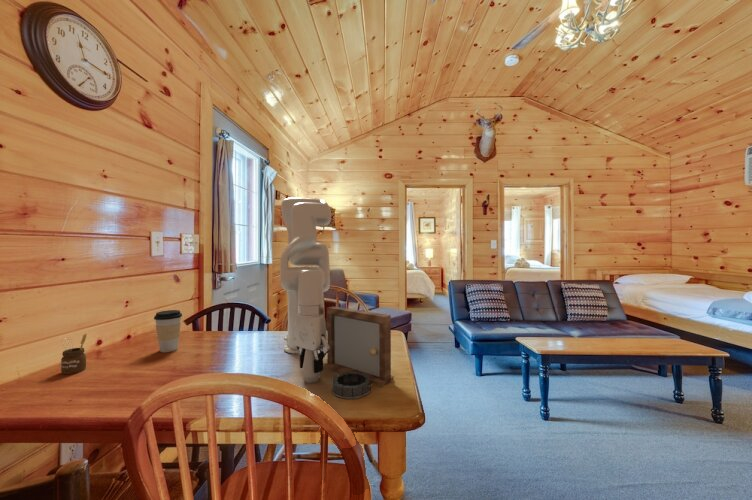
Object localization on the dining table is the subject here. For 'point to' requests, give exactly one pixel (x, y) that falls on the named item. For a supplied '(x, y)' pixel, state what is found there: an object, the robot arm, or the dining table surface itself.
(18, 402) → the dining table surface
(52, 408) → the dining table surface
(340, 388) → the socket
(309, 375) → the salt shaker
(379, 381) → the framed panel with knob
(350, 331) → the door
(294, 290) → the robot arm
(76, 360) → the utensil holder
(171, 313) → the coffee cup
